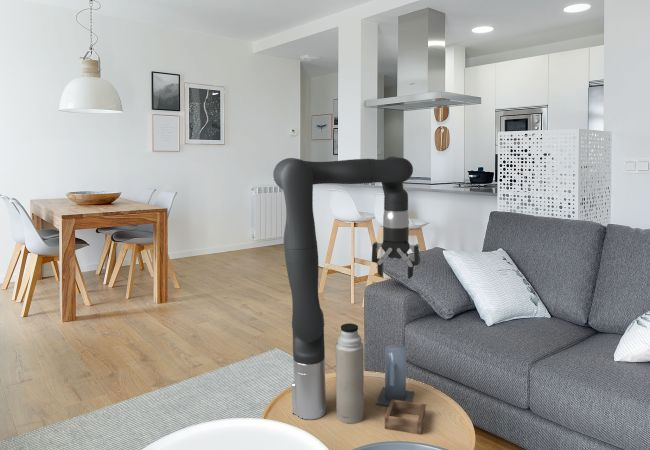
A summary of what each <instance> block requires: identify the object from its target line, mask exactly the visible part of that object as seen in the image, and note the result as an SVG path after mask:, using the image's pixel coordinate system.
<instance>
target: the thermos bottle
mask: <svg viewBox="0 0 650 450" xmlns="http://www.w3.org/2000/svg"><path fill="white" fill-rule="evenodd" d="M358 331H359V325H357V324H356V323H350V322H349V323H344V324H342V325H340V334H339V335H338V336H337V342H336V343H335V344H334V345H335V349H334V350H335V392H336V393H335V394H336V395H335V396H336V399H335V400H336V401H335V402H336V403H335V404H336V405H335V406H336V418H337V419H338V421H340V422H341V423H345V424H356V423H359V422H361V421H363V419H364V417H365V404H364V403H365V401H364V400H365V399H364V397H365V393H364V385H365V384H364V383H365V381H364V377H365V376H364V373H365V372H364V366H365V365H364V343H363V342H362V338H361V335H360V334H359V332H358Z"/></svg>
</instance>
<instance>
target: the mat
mask: <svg viewBox="0 0 650 450" xmlns="http://www.w3.org/2000/svg"><path fill="white" fill-rule="evenodd" d="M414 395H415V391H413V390H407V389H406V399H405V400H404V401H408V402H413V398H414ZM390 402H391V401H388V400H387V399H386V398H385V386H384V387H382V388H381V390H380V393H379V396H378V398H377V400H376V403H375V404H376V406H382V407H387V408H388V407H389V405H390Z"/></svg>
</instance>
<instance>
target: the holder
mask: <svg viewBox="0 0 650 450" xmlns="http://www.w3.org/2000/svg"><path fill="white" fill-rule="evenodd" d="M426 405H427V404H426V403H422V402H421V403H420V402H414V401H412V402H408V401H401V400H394V399H391V402H390V405H389V407H387V410H386V413H385V416H384V429H386V430H390V431H397V432H403V433H410V434H415V435H421V434H422V430H423V427H424V423H425V420H426V419H425V418H426V409H427V408H426ZM394 413H396V414H397V413H398V414H404V415H411V416H415V417H416V416H418V417H417V419H410V418H407V417H406V418H404V417H399V416H394Z"/></svg>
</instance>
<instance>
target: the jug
mask: <svg viewBox="0 0 650 450" xmlns="http://www.w3.org/2000/svg"><path fill="white" fill-rule="evenodd" d="M384 387H385V398H386V399H387V400H388V401H391V399H394V400H401V401H404V400H405V399H406V390H407V347H406V346H405V345H402V344H395V343H394V344H393V343H392V344H388V345H386V346H385V348H384Z"/></svg>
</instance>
